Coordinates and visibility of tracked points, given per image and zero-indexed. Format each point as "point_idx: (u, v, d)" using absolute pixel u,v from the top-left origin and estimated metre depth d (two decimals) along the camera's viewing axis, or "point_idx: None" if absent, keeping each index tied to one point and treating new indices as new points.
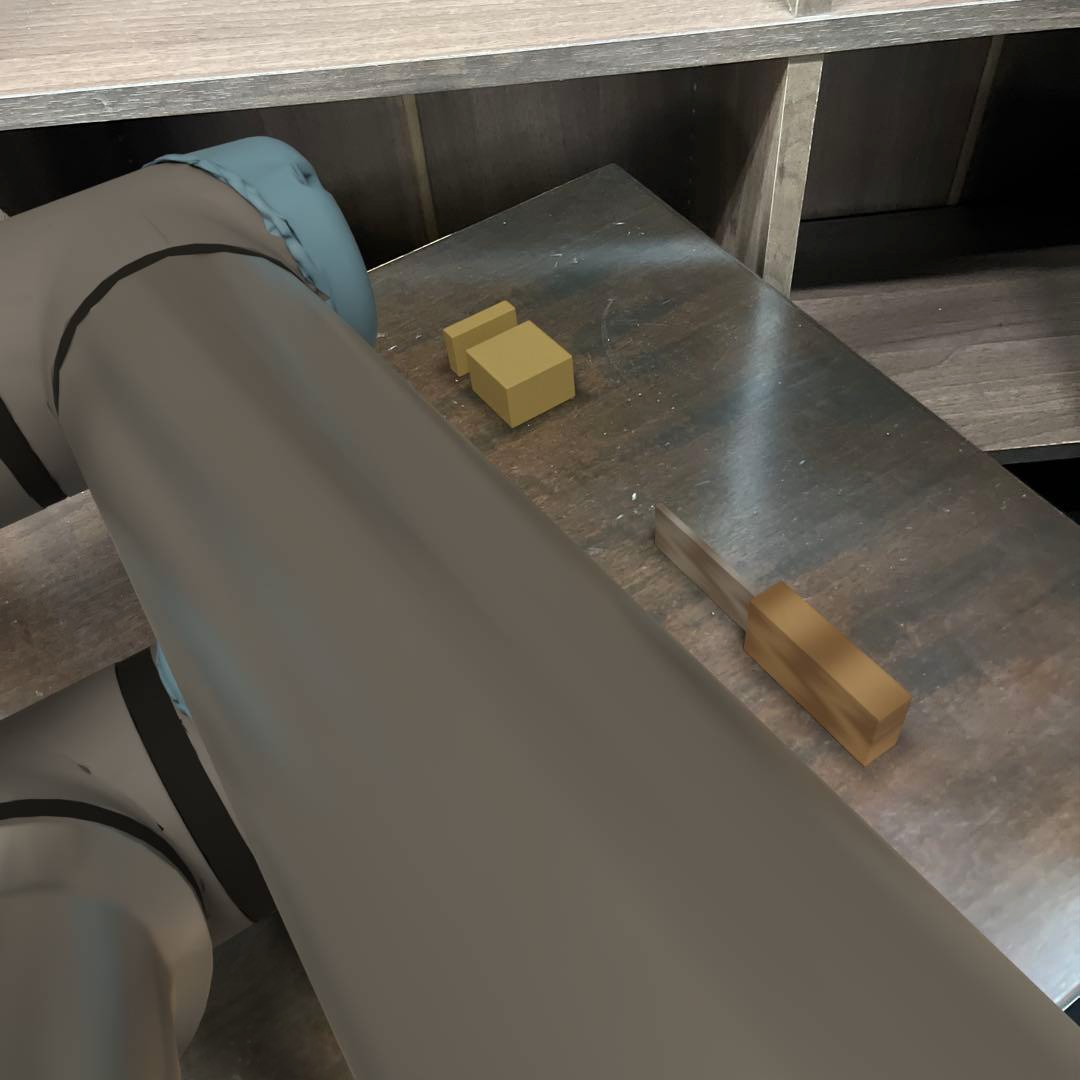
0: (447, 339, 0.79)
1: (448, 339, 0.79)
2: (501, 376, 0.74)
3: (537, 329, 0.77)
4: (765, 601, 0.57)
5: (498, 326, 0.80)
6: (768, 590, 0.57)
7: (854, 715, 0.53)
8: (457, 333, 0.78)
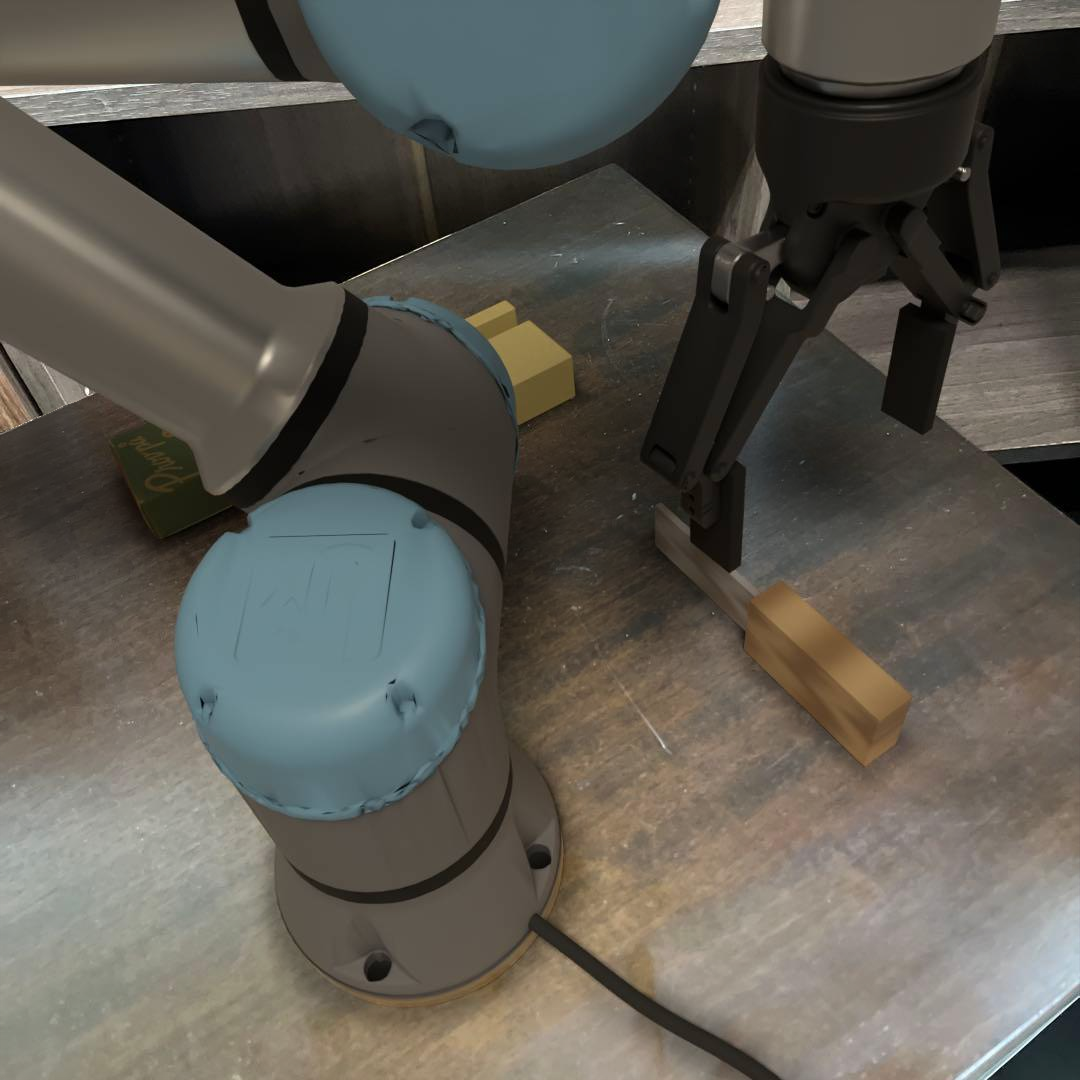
0: None
1: None
2: None
3: (537, 329, 0.77)
4: (765, 601, 0.57)
5: (498, 326, 0.80)
6: (768, 590, 0.57)
7: (854, 715, 0.53)
8: None
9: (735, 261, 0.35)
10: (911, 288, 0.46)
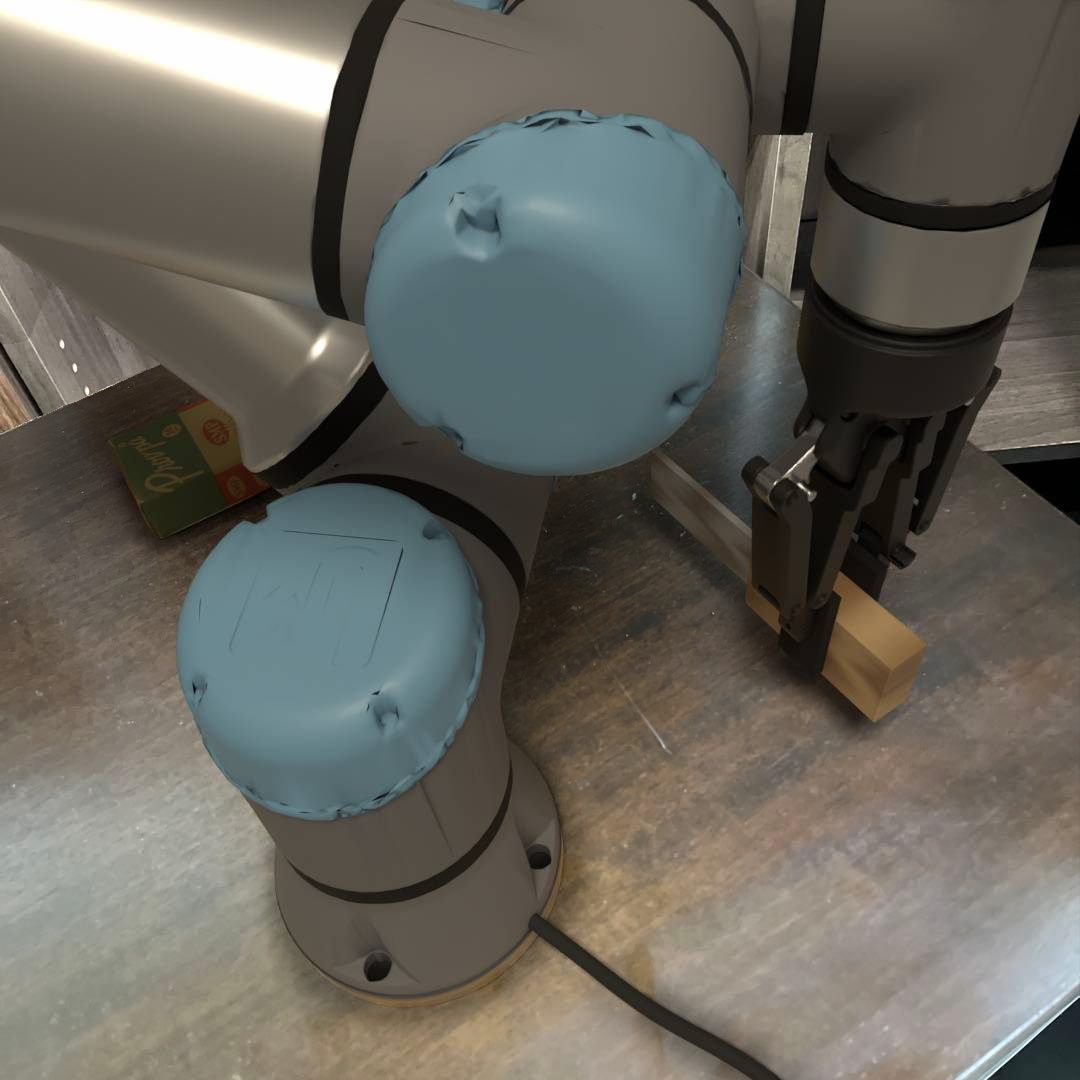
0: None
1: None
2: None
3: None
4: None
5: None
6: None
7: (863, 666, 0.50)
8: None
9: (769, 493, 0.40)
10: (860, 514, 0.49)
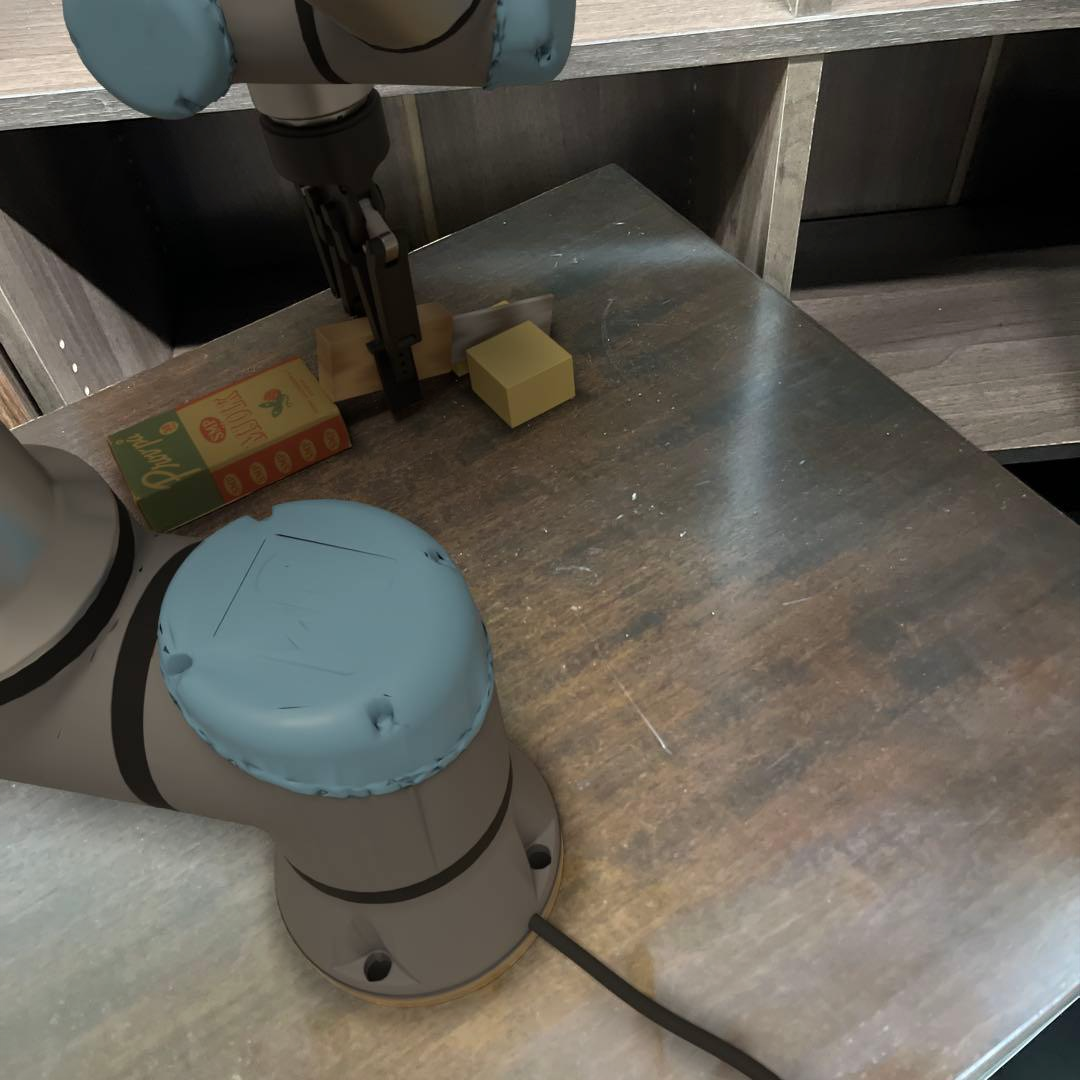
0: None
1: None
2: (501, 376, 0.74)
3: (537, 329, 0.77)
4: (434, 306, 0.75)
5: None
6: (444, 308, 0.75)
7: None
8: None
9: None
10: None
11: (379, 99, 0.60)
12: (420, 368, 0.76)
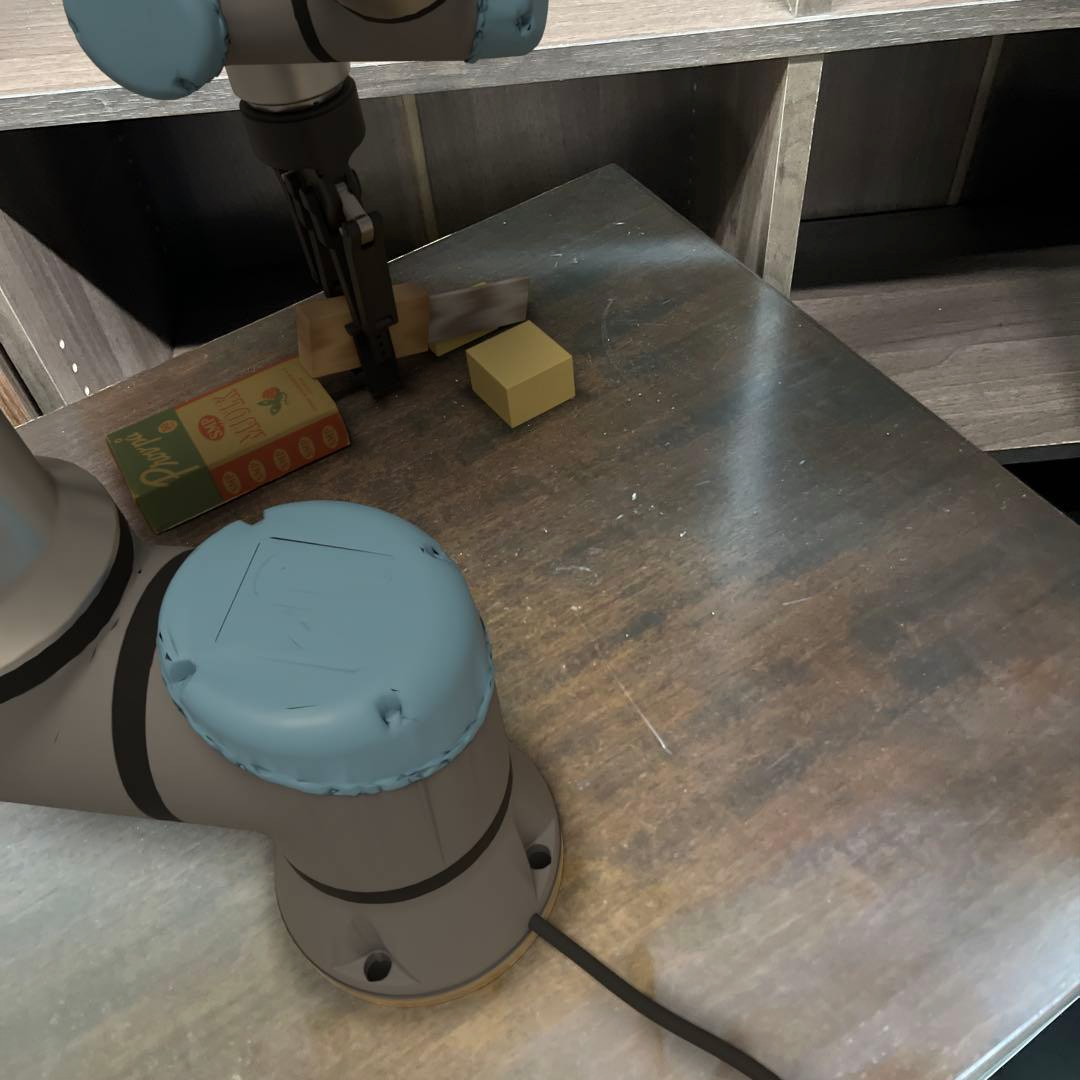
0: None
1: None
2: (501, 376, 0.74)
3: (537, 329, 0.77)
4: (411, 285, 0.77)
5: None
6: (421, 288, 0.77)
7: None
8: None
9: None
10: None
11: (354, 86, 0.63)
12: (398, 346, 0.78)
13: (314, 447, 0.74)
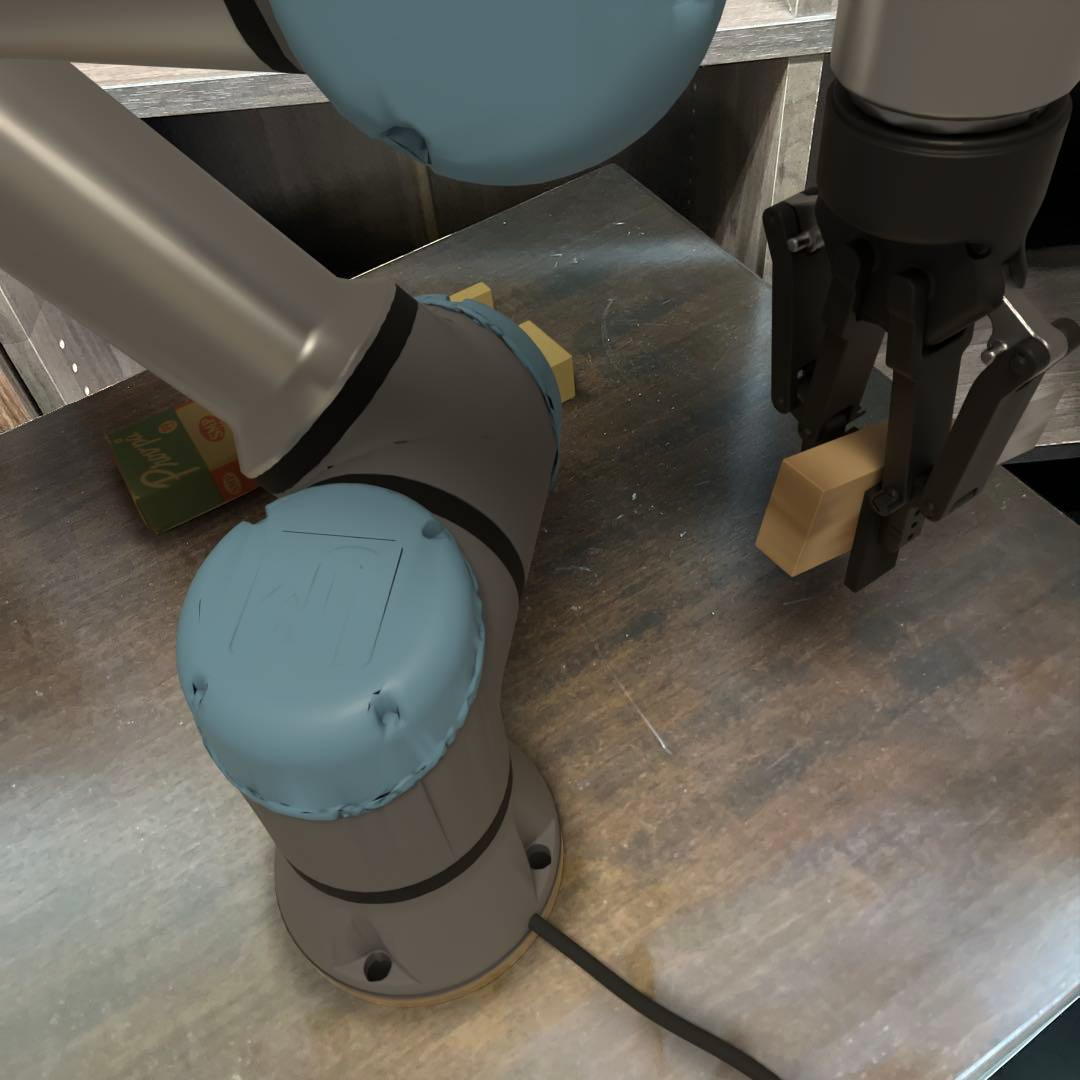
0: None
1: None
2: None
3: (537, 329, 0.77)
4: None
5: None
6: None
7: None
8: None
9: None
10: None
11: None
12: None
13: None
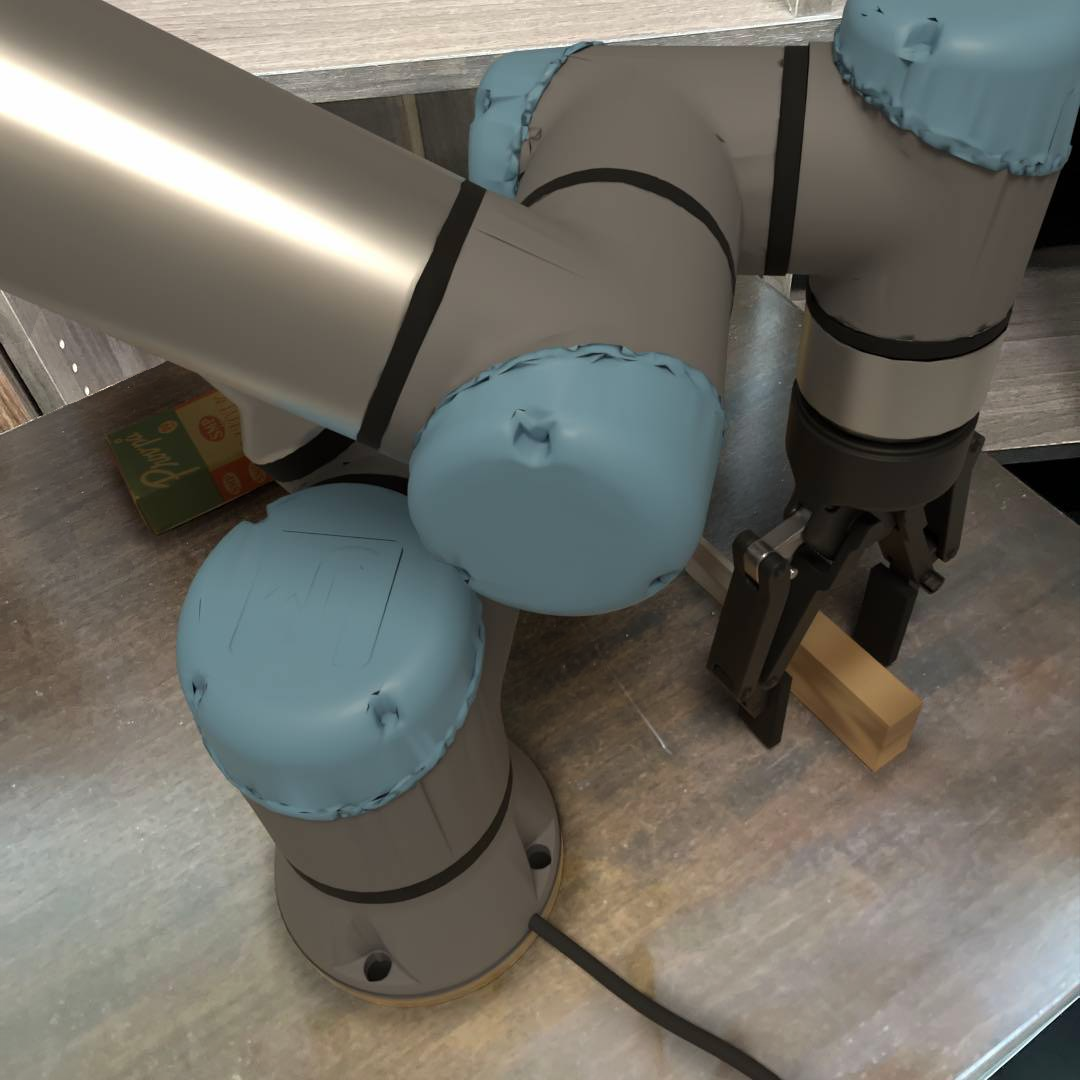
0: None
1: None
2: None
3: None
4: None
5: None
6: None
7: (864, 720, 0.53)
8: None
9: (759, 562, 0.43)
10: (885, 551, 0.53)
11: None
12: None
13: None
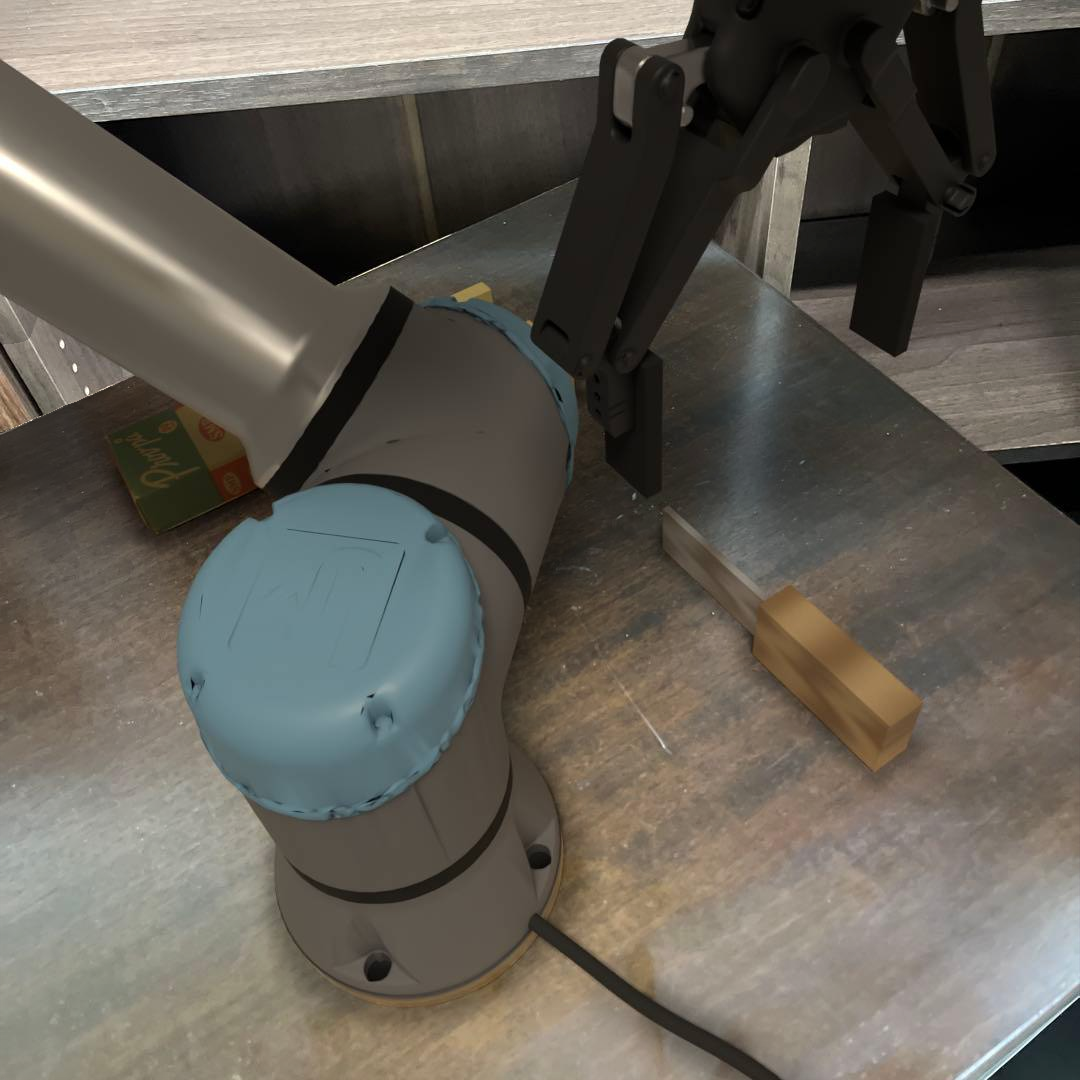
0: None
1: None
2: None
3: None
4: (774, 605, 0.57)
5: None
6: (777, 594, 0.57)
7: (864, 720, 0.53)
8: None
9: (640, 66, 0.27)
10: (886, 167, 0.38)
11: None
12: None
13: None
